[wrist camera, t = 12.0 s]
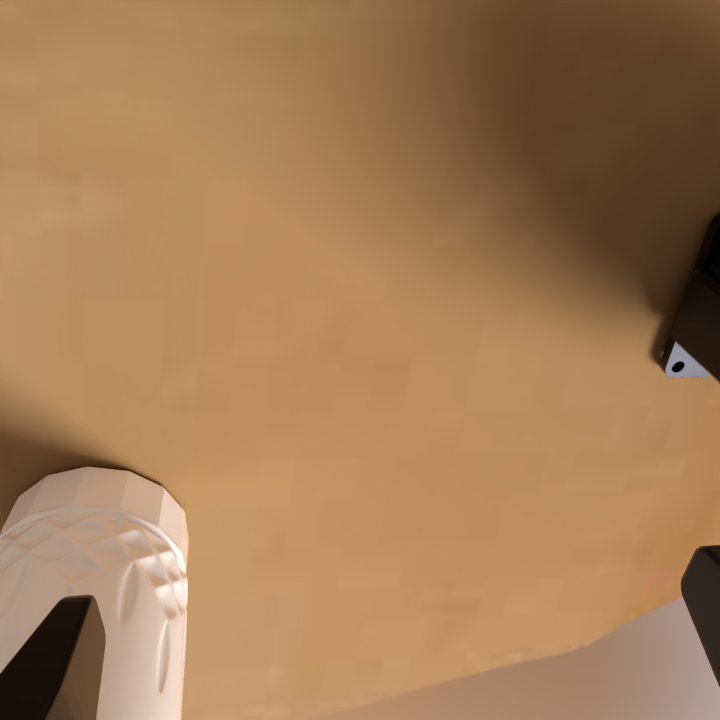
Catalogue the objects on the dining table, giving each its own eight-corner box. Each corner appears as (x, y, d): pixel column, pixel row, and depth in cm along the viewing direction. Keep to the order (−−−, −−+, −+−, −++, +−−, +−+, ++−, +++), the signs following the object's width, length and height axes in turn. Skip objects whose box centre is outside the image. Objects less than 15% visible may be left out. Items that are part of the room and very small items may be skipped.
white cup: (-30, 457, 23) (-197, 748, 14) (194, 447, 24) (158, 712, 16) (23, 597, 27) (-84, 884, 19) (210, 582, 28) (189, 848, 20)
